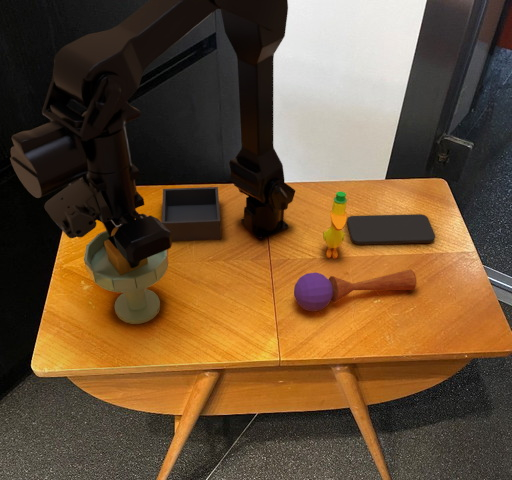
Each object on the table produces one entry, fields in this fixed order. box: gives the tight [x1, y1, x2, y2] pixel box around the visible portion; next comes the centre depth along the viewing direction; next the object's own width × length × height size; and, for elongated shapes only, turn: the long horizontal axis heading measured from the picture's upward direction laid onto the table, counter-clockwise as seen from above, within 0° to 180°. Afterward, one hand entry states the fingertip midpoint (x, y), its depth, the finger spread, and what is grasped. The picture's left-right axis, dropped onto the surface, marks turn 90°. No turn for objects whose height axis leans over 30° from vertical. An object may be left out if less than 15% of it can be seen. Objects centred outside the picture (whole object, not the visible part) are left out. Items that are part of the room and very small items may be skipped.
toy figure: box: [322, 191, 348, 259], centre depth 90 cm, size 7×4×12 cm, turn 177°
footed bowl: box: [83, 230, 170, 325], centre depth 81 cm, size 11×11×12 cm
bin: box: [161, 186, 222, 242], centre depth 98 cm, size 10×10×4 cm
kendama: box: [293, 269, 417, 312], centre depth 86 cm, size 6×6×20 cm
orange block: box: [104, 227, 148, 275], centre depth 76 cm, size 4×4×6 cm
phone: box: [346, 213, 436, 245], centre depth 99 cm, size 7×1×15 cm
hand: (127, 258), depth 78 cm, fingers closed on orange block, 4 cm apart
